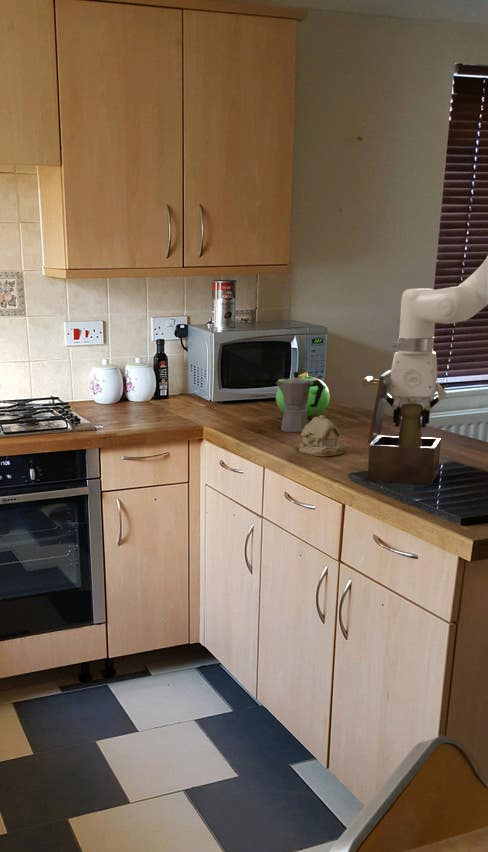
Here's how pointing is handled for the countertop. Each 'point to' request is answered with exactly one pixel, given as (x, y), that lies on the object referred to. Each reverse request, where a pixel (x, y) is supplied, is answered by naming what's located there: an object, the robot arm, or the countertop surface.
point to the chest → (403, 461)
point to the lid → (377, 403)
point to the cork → (410, 425)
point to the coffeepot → (297, 402)
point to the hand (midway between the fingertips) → (410, 425)
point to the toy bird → (311, 397)
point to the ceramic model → (320, 438)
